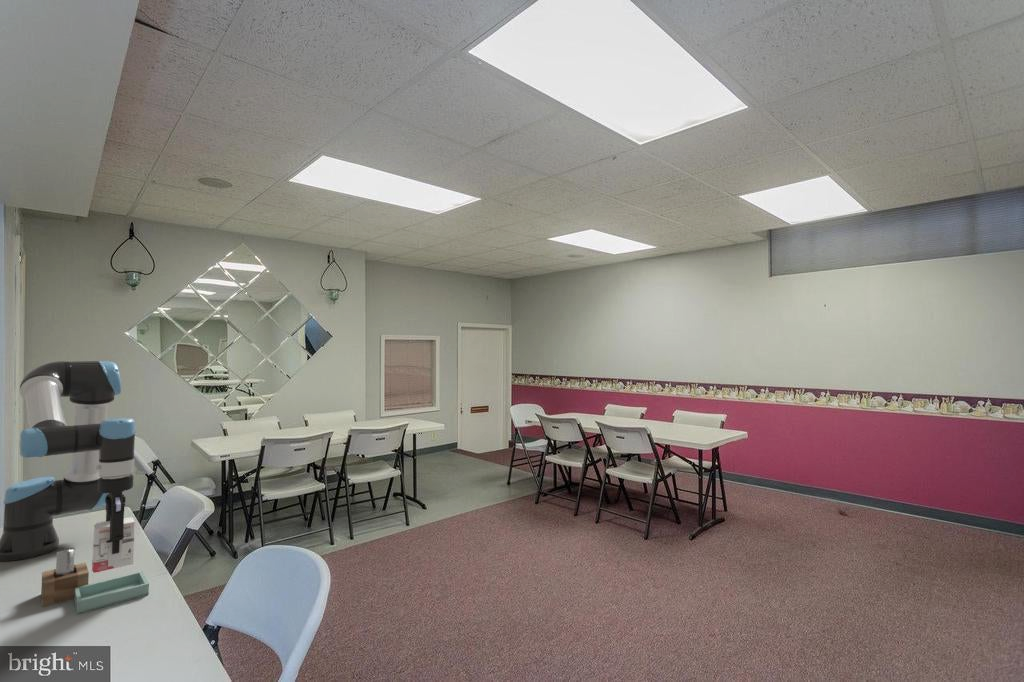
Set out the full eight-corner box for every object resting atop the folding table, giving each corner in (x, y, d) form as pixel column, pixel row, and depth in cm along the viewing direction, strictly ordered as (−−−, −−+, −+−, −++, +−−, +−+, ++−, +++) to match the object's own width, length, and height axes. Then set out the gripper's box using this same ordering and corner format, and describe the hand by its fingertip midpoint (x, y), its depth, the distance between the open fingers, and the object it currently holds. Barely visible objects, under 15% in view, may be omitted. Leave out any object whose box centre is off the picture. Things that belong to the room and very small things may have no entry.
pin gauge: (54, 594, 132) (56, 550, 132) (72, 590, 135) (73, 546, 135) (55, 599, 130) (57, 554, 130) (73, 594, 132) (75, 550, 132)
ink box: (92, 573, 127) (93, 528, 127) (91, 567, 130) (93, 523, 131) (133, 564, 132) (135, 521, 133) (132, 558, 136) (133, 516, 136)
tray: (74, 599, 130) (74, 587, 130) (141, 581, 140) (142, 571, 140) (77, 614, 122) (77, 602, 122) (148, 594, 133) (148, 583, 133)
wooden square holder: (41, 594, 132) (42, 572, 132) (84, 583, 139) (85, 562, 139) (42, 606, 126) (43, 583, 126) (87, 594, 132) (88, 572, 132)
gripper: (94, 472, 136) (91, 555, 135) (102, 484, 123) (98, 576, 122) (128, 467, 141) (125, 548, 140) (138, 479, 128) (135, 567, 128)
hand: (113, 561), depth 131 cm, fingers closed on ink box, 5 cm apart
